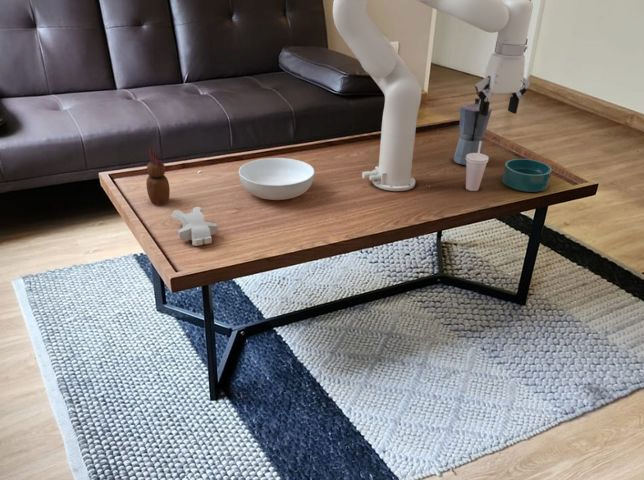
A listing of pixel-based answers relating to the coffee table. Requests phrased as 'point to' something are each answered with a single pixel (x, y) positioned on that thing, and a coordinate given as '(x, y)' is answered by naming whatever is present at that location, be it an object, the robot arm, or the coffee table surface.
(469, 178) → the smoothie
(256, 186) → the serving bowl
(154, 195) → the wooden figurine
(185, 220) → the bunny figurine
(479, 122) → the moka pot
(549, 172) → the bowl
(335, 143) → the coffee table surface
